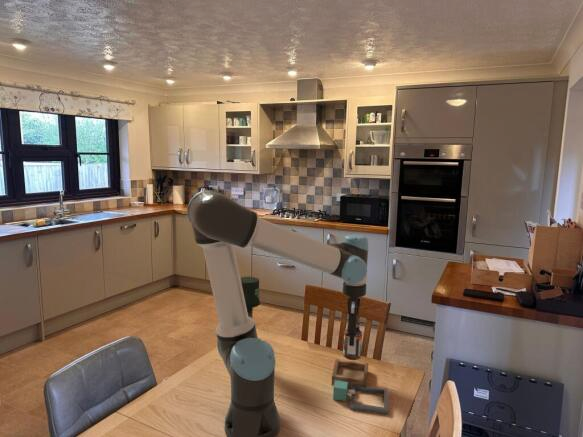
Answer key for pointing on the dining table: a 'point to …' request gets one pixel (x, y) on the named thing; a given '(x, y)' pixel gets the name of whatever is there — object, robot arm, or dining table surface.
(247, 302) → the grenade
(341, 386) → the pin
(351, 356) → the supplement bottle
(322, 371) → the dining table surface
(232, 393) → the robot arm
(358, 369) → the open box
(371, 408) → the socket collar
